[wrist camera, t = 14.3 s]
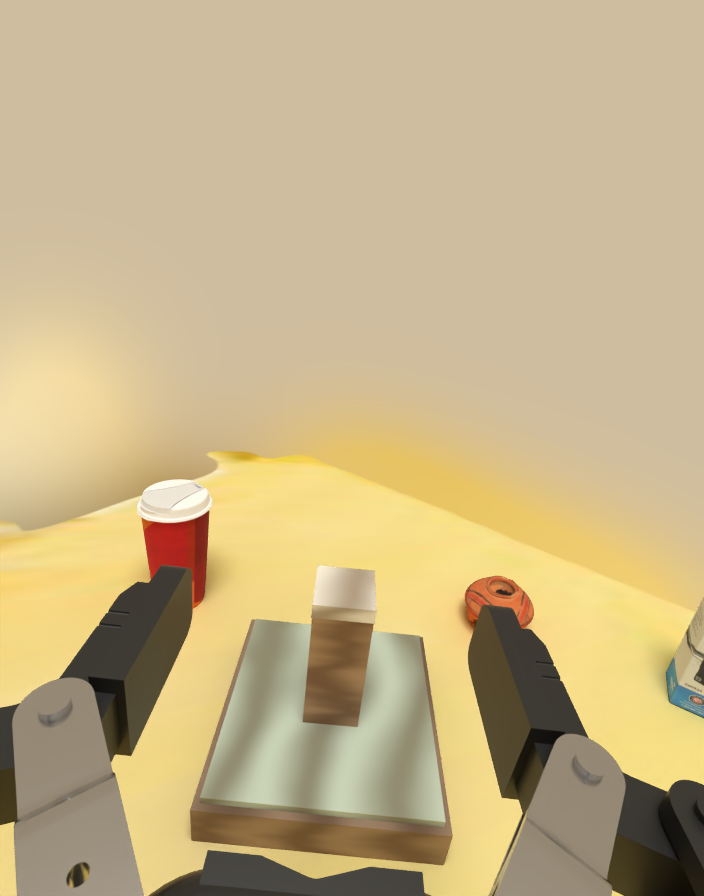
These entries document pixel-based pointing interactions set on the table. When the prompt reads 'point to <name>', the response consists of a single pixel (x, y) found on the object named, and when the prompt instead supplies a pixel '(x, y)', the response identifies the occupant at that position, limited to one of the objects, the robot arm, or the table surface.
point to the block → (339, 645)
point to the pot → (498, 598)
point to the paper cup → (177, 529)
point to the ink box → (689, 668)
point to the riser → (326, 757)
